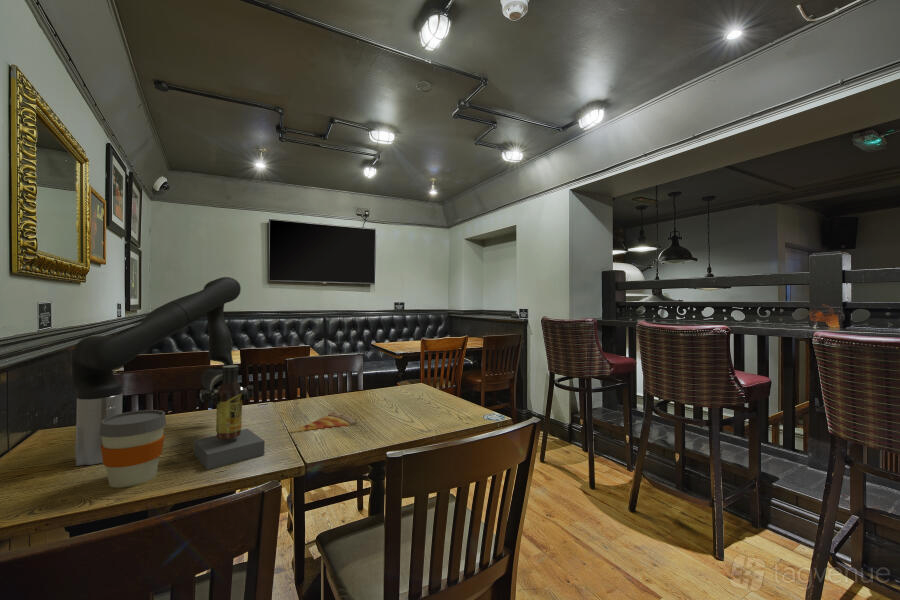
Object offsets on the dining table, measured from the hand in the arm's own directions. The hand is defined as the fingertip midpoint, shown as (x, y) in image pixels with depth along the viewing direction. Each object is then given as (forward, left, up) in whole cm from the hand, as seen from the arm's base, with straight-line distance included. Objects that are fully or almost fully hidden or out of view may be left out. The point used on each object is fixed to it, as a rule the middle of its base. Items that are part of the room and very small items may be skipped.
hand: (231, 399), depth 107 cm
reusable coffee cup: (-21, +2, -16) cm, 26 cm away
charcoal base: (0, +2, -16) cm, 16 cm away
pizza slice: (+33, +11, -17) cm, 39 cm away
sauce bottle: (0, +2, -11) cm, 12 cm away
